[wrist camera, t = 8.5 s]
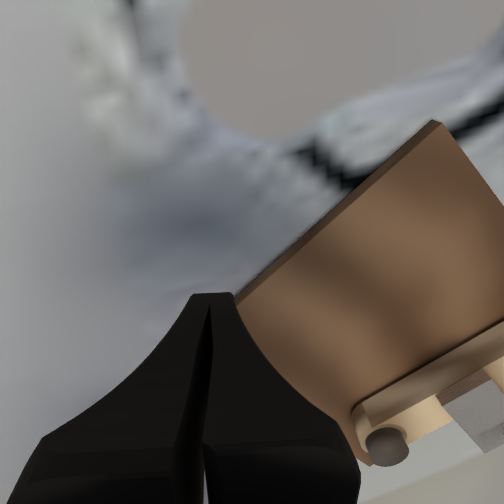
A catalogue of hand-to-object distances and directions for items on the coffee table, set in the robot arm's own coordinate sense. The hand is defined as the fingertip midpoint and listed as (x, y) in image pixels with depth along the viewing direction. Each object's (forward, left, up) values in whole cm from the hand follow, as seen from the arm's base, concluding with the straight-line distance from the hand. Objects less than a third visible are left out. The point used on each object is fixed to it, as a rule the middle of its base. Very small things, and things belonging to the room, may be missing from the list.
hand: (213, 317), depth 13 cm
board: (+2, -13, -8) cm, 16 cm away
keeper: (+3, -18, -7) cm, 20 cm away
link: (+3, -18, -7) cm, 19 cm away
